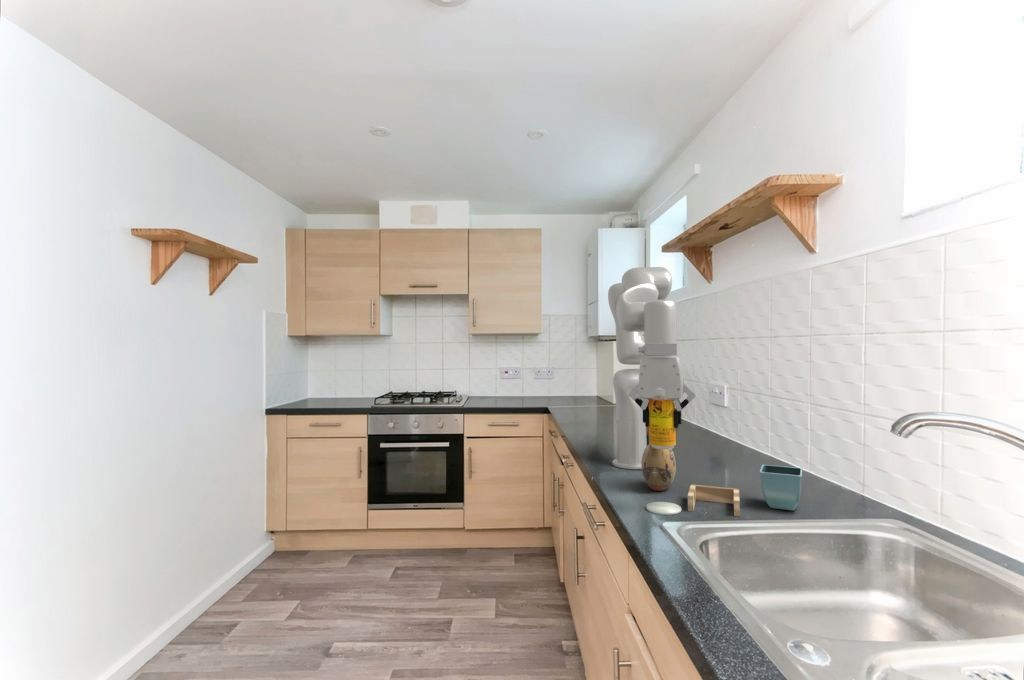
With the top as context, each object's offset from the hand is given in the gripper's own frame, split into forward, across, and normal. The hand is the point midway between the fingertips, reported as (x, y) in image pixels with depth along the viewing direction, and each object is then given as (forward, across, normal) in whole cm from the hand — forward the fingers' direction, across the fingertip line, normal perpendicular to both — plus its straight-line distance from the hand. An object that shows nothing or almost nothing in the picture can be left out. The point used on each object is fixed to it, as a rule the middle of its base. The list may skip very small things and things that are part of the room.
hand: (662, 425), depth 119 cm
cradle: (+20, +11, +6) cm, 24 cm away
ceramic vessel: (+20, -3, +17) cm, 27 cm away
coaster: (+20, 0, 0) cm, 20 cm away
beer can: (+5, 0, 0) cm, 5 cm away
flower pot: (+20, +26, +12) cm, 35 cm away
